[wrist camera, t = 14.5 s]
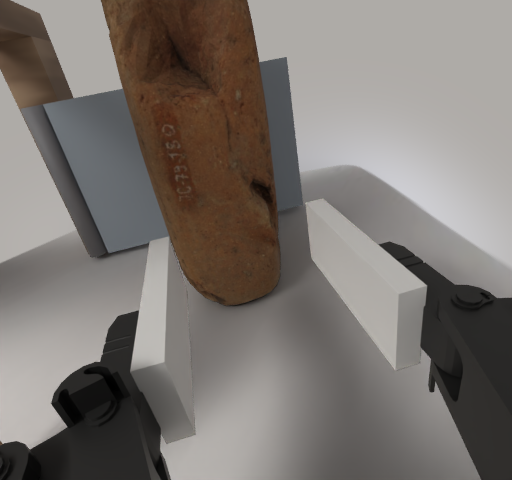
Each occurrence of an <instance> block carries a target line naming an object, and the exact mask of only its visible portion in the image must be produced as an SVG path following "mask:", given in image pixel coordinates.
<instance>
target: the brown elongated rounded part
mask: <svg viewBox="0 0 512 480" xmlns="http://www.w3.org/2000/svg"><path fill="white" fill-rule="evenodd" d="M101 2H102V6H103V10H104V14H105V18H106V22H107V25H108V28H109V30H110V34H109V37H110V40H111V44H112V48H113V52H114V55H115V59H116V63H117V67H118V72H119V76H120V80H121V83H122V87H123V91H124V94H125V98H126V101H127V105H128V108H129V112H130V115H131V118H132V121H133V124H134V128H135V131H136V135H137V139H138V142H139V146H140V149H141V153H142V156H143V159H144V162H145V165H146V168H147V171H148V174H149V177H150V180H151V184H152V187H153V190H154V193H155V196H156V199H157V202H158V204H159V207H160V210H161V213H162V216H163V219H164V222H165V225H166V228H167V230H168V233H169V236H170V239H171V242H172V245H173V248H174V250H175V253H176V255H177V258H178V260H179V263H180V266H181V268H182V270H183V272H184V274H185V276H186V278H187V280H188V281H189V282H190V284H191V285H192V286H193V287H194V288H195V289H196V290H197V291H198V292H199V293H201V294H202V295H203V296H204V297H205V298H207V299H210V300H212V301H214V302H219V303H220V304H223V305H225V306H227V305H236V304H242V303H245V302H248V301H251V300H254V299H257V298H260V297H262V296H264V295H266V294H268V293H269V292H271V291H272V290H273V289H274V287H275V286H276V285H277V283H278V281H279V278H280V264H281V262H280V246H279V240H278V212H277V200H276V188H275V180H274V170H273V162H272V154H271V142H270V134H269V125H268V118H267V110H266V102H265V96H264V90H263V84H262V77H261V71H260V64H259V58H258V52H257V47H256V41H255V35H254V30H253V25H252V19H251V16H250V11H249V6H248V2H247V0H101Z"/></svg>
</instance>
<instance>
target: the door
mask: <svg viewBox="0 0 512 480" xmlns="http://www.w3.org/2000/svg"><path fill="white" fill-rule="evenodd" d="M259 64H260V71H261V77H262V84H263V90H264V96H265V102H266V110H267V118H268V125H269V134H270V142H271V154H272V162H273V170H274V180H275V188H276V200H277V211H280V210H284V209H288V208H292V207H296V206H300V205H303V201H302V192H301V183H300V174H299V166H298V156H297V147H296V138H295V130H294V121H293V110H292V102H291V92H290V83H289V75H288V65H287V58H286V57H284V58H279V59H274V60H268V61H264V62H259ZM20 110H21V112H22V114H23V116H24V118H25V120H26V122H27V125H28V127H29V129H30V131H31V133H32V135H33V137H34V139H35V141H36V143H37V146H38V148H39V150H40V152H41V154H42V156H43V158H44V160H45V162H46V164H47V167H48V169H49V171H50V173H51V175H52V177H53V179H54V181H55V183H56V185H57V188H58V190H59V192H60V194H61V196H62V198H63V200H64V202H65V204H66V206H67V209H68V211H69V213H70V215H71V217H72V219H73V221H74V223H75V225H76V227H77V230H78V232H79V234H80V236H81V238H82V240H83V242H84V244H85V246H86V248H87V251H88V253H89V255H90V257H98V256H101V255H103V254H105V253H106V252H107V251H108V253H111V252H115V251H119V250H123V249H127V248H131V247H135V246H139V245H143V244H147V243H149V242H150V241H152V240H156V239H160V238H164V237H168V236H169V233H168V230H167V228H166V225H165V222H164V219H163V216H162V213H161V210H160V207H159V204H158V202H157V199H156V196H155V193H154V190H153V187H152V184H151V180H150V177H149V174H148V171H147V168H146V165H145V162H144V159H143V156H142V153H141V149H140V146H139V142H138V139H137V135H136V131H135V128H134V124H133V121H132V118H131V115H130V112H129V108H128V105H127V101H126V98H125V94H124V91H123V89H120V90H114V91H109V92H104V93H99V94H94V95H89V96H83V97H78V98H73V99H68V100H63V101H58V102H53V103H48V104H42V105H37V106H32V107H27V108H22V109H20ZM169 238H170V236H169Z"/></svg>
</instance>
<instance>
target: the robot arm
mask: <svg viewBox="0 0 512 480" xmlns="http://www.w3.org/2000/svg"><path fill="white" fill-rule="evenodd" d="M305 205H306V214H307V223H308V233H309V242H310V252H311V258H312V260H313V261H314V262H315V264H316V265H317V266H318V268H319V269H320V270H321V272H322V273H323V274H324V276H325V277H326V278H327V280H328V281H329V283H330V284H331V285H332V287H333V288H334V289H335V291H336V292H337V293H338V295H339V296H340V297H341V299H342V300H343V301H344V303H345V304H346V305H347V307H348V308H349V309H350V311H351V312H352V313H353V315H354V316H355V317H356V319H357V320H358V321H359V323H360V324H361V325H362V327H363V328H364V329H365V331H366V332H367V334H368V335H369V336H370V338H371V339H372V340H373V342H374V343H375V344H376V346H377V347H378V348H379V350H380V351H381V352H382V354H383V355H384V356H385V358H386V359H387V360H388V362H389V363H390V364H391V366H392V367H393V368H394V370H395V371H397V370H400V369H403V368H406V367H409V366H412V365H415V364H419V363H420V357H421V348H422V349H423V350H424V351H425V352H426V353H427V355H428V356H429V357H430V358H431V366H430V374H429V383H428V386H429V391H430V392H434V388H435V381H436V383H437V386H438V388H439V390H440V392H441V394H442V396H443V398H444V401H445V403H446V405H447V407H448V409H449V411H450V413H451V416H452V418H453V420H454V422H455V424H456V426H457V428H458V430H459V433H460V435H461V437H462V439H463V441H464V443H465V445H466V448H467V450H468V452H469V454H470V456H471V458H472V460H473V463H474V465H475V467H476V469H477V471H478V473H479V475H480V478H481V480H512V298H496V297H495V296H493V295H492V294H491V293H490V292H488V291H485V290H483V289H481V288H478V287H474V286H469V285H454V284H453V283H452V282H450V281H449V280H448V279H446V278H445V277H444V276H442V275H441V274H440V273H438V272H437V271H436V270H434V269H433V268H432V267H430V266H429V265H428V264H426V263H423V261H422V260H421V259H420V258H418V257H417V256H415V255H414V254H413V253H412V252H410V251H409V250H408V249H406V248H405V247H403V246H400V245H398V244H395V243H392V242H386V243H383V244H379V245H378V244H377V243H375V242H374V241H373V240H372V239H371V238H369V237H368V236H367V235H366V234H365V233H363V232H362V231H361V230H360V229H359V228H358V227H356V226H355V225H354V224H353V223H352V222H350V221H349V220H348V219H347V218H346V217H344V216H343V215H342V214H341V213H340V212H338V211H337V210H336V209H335V208H334V207H332V206H331V205H330V204H329V203H328V202H326V201H325V200H324V199H323V198H321V199H317V200H313V201H309V202H305ZM105 342H106V344H105V345H104V349H103V355H102V357H101V361H100V362H94V363H92V364H89V365H86V366H83V367H81V368H80V369H78V370H77V371H75V372H73V373H72V374H71V375H69V376H68V377H67V378H66V379H65V380H64V381H63V382H62V383H61V384H60V386H59V387H58V389H57V390H56V391H55V393H54V396H53V399H52V403H51V404H52V406H53V407H54V409H55V410H56V411H57V413H58V414H59V415H60V417H61V418H62V420H63V421H64V422H65V424H66V425H67V428H66V429H64V430H63V431H61V432H60V433H58V434H57V435H55V436H53V437H51V438H50V439H48V440H46V441H44V442H43V443H41V444H39V445H37V446H36V447H34V448H32V449H29V448H28V447H27V446H26V445H25V444H23V443H20V442H17V441H15V442H10V443H4V444H2V445H0V480H171V478H170V475H169V472H168V468H167V465H166V461H165V459H164V457H163V455H162V453H161V452H160V437H161V434H162V436H163V438H164V440H165V442H166V443H170V442H174V441H177V440H180V439H183V438H186V437H189V436H192V435H195V418H194V400H193V383H192V366H191V349H190V331H189V314H188V297H187V289H186V286H185V283H184V280H183V277H182V274H181V271H180V268H179V265H178V262H177V259H176V256H175V253H174V250H173V247H172V244H171V241H170V238H169V236H168V237H164V238H160V239H156V240H152V241H150V242H149V249H148V256H147V262H146V269H145V276H144V283H143V289H142V296H141V303H140V309H139V311H135V312H131V313H128V314H124V315H120V316H118V317H117V318H116V320H115V321H114V322H113V324H112V325H111V326H110V328H109V330H108V334H107V337H106V341H105Z"/></svg>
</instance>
